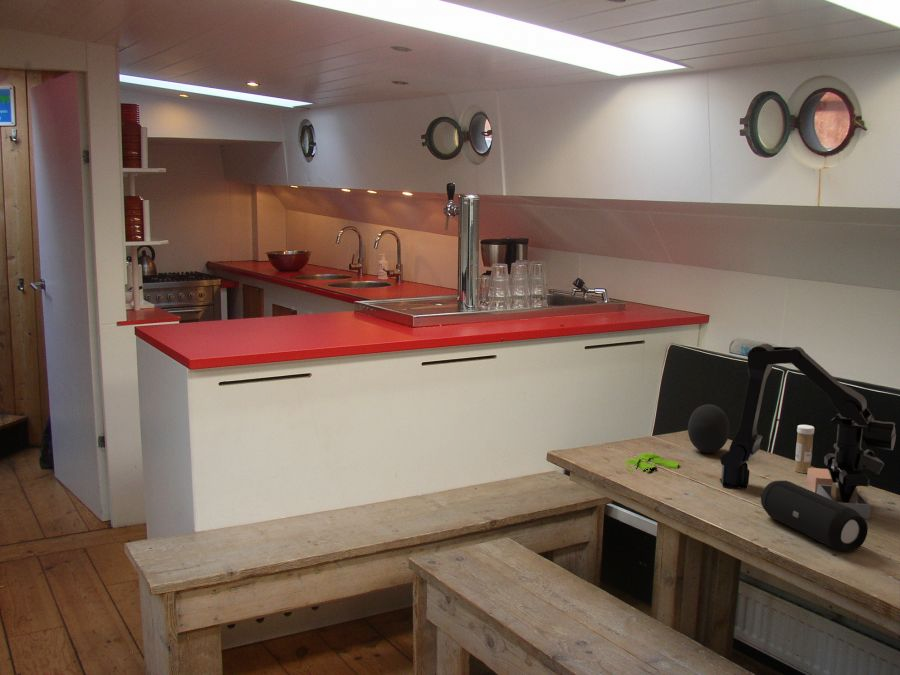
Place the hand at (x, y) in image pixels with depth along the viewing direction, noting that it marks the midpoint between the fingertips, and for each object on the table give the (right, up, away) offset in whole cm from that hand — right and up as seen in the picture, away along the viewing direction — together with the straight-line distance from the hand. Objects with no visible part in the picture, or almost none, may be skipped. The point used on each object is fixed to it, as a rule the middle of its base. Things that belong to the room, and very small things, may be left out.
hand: (842, 501), depth 229 cm
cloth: (-42, +4, +32) cm, 53 cm away
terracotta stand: (+2, +1, +14) cm, 14 cm away
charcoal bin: (0, -2, 0) cm, 2 cm away
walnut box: (0, -1, 0) cm, 1 cm away
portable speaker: (-16, -5, -18) cm, 24 cm away
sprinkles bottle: (+1, +3, +30) cm, 30 cm away
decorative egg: (-21, +6, +47) cm, 52 cm away
